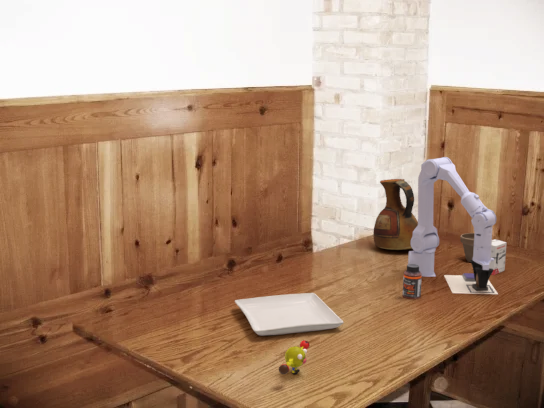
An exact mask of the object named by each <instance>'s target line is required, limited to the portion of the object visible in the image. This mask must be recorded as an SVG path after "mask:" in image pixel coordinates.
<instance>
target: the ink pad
mask: <svg viewBox="0 0 544 408" xmlns="http://www.w3.org/2000/svg"><path fill="white" fill-rule="evenodd" d="M461 275H462V276H463V278H464V280H465V281H467V282H476V281H475V278H474V272H471V273H470V272H469V273H468V272H466V273H465V272H464V273H462V274H461Z"/></svg>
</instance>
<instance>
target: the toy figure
mask: <svg viewBox="0 0 544 408" xmlns="http://www.w3.org/2000/svg"><path fill="white" fill-rule="evenodd" d="M309 348H310V342H309V341H308V340H305V339H304V340H301V341H300V343H299V346H297V345H295V346H294V345H293V346H290V347H289V348H287V350H286V351H285V353H284V360H285V363H282V364H281V365H280V366H279V367H278V373H280V374H282V375H287V374H288V373H289V371H290V367H291V369H292V370H291V375H298V372H300V371H301V369H299V368H301V366H303V365H304V364H306V363H307V358H306V354H307V353H308V349H309Z"/></svg>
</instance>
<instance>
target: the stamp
mask: <svg viewBox="0 0 544 408" xmlns="http://www.w3.org/2000/svg"><path fill="white" fill-rule="evenodd" d="M472 288H474V289H475V290H476V291H488V287H486V288H479V282H478V275H477V274H476V284H472Z"/></svg>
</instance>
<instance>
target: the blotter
mask: <svg viewBox="0 0 544 408" xmlns="http://www.w3.org/2000/svg"><path fill="white" fill-rule="evenodd" d="M462 275H463V274H461V275H459V274H458V275H457V274H455V275H454V274H443V277H444V279H445V281H446V283H447V285H448V287H449V289H450V291H451V293H452V294H465V295H467V294H469V295H471V294H473V295H499V293H498V291H497V290H496V289H495V287H494V285H493V284H492V283H491V281H490V279H489V280H488V283H487V287H488V291H476V290H475V289H474V288H472V284H476V282H467V281H465V280H464V278H463V276H462Z"/></svg>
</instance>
